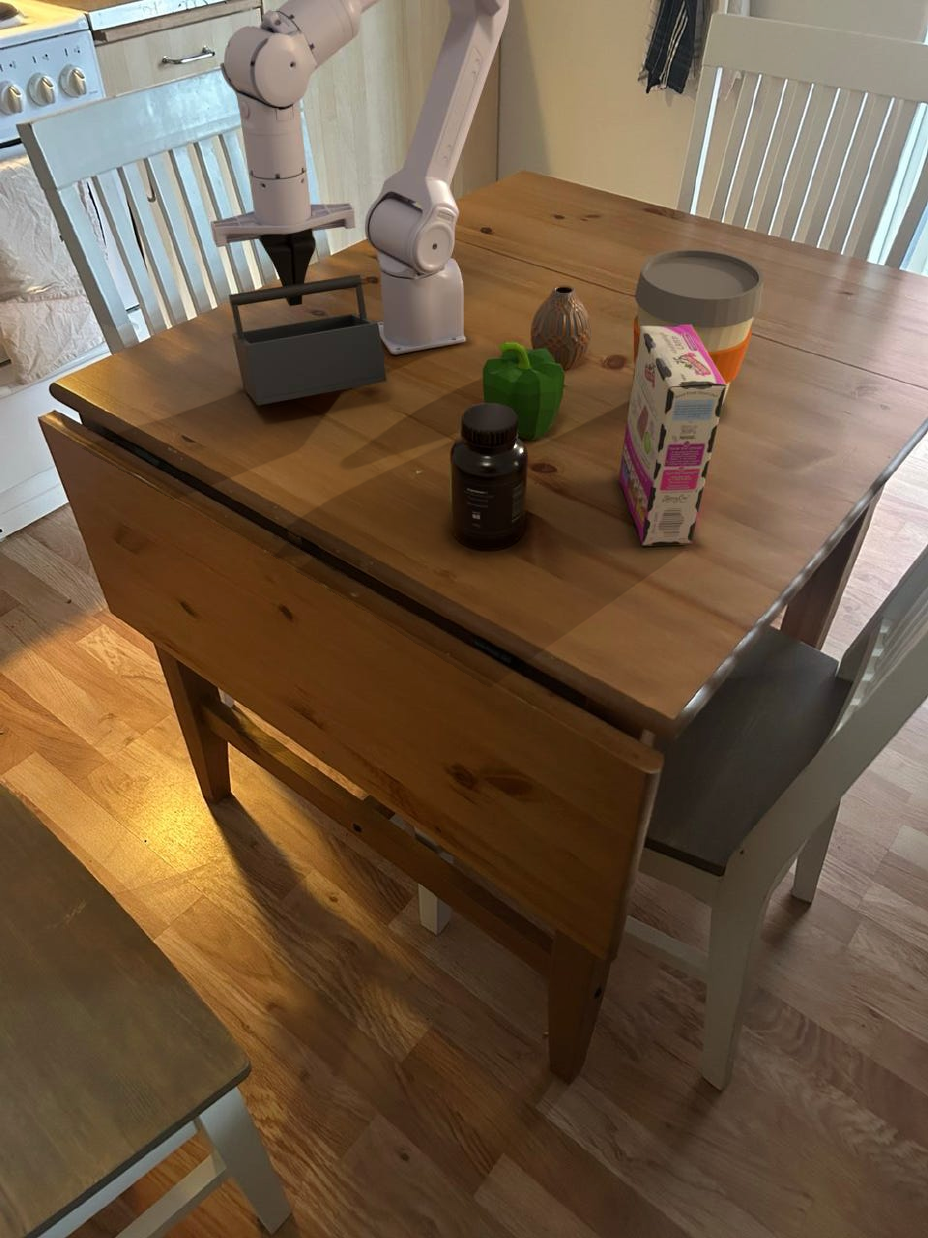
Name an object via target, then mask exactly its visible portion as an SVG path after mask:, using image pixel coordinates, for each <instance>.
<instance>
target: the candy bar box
mask: <svg viewBox="0 0 928 1238" xmlns="http://www.w3.org/2000/svg"><path fill="white" fill-rule="evenodd" d="M726 386H727V385H726V383H725V381H724V379H723V378H722V376H721V374H720V373H719V371H718V369H717V368H716V366H715V364H714V363H713V361H712V359H711V357H710V356H709V354H708V352H707V351H706V349H705V347H704V346H703V344H702V342H701V340H700V339H699V337H698V335H697V333H696V332H695V330H694V328H693V327H692V325H660V326H641V327H640V338H639V344H638V353H637V358H636V365H635V364H634V372H633V377H632V385H631V391H630V399H629V400H630V401H629V406H628V413H627V420H626V427H625V432H624V433H625V434H624V439H623V446H622V453H621V461H620V469H619V475H618V481H619V484H620V486H621V489H622V492H623V495H624V498H625V501H626V503H627V506H628V509H629V512H630V515H631V518H632V520H633V522H634V526H635V529H636V531H637V534H638V536H639V537H638V538H639V540H640V543H641V545H642V546H643V547H653V546H655V547H657V546H682V545H683V546H684V545H685V546H686V545H692V543H693V540H694V539H693V538H694V533H695V529H696V524H697V519H698V515H699V512H700V507H701V502H702V498H703V493H704V487H705V483H706V478H707V475H708V474H707V473H708V469H709V464H710V461H711V457H712V452H713V447H714V443H715V439H716V435H717V430H718V425H719V420H720V418H721V417H720V416H721V411H722V407H723V404H724V402H723V399H724V394H725V389H726ZM724 400H725V399H724ZM722 403H723V404H722Z"/></svg>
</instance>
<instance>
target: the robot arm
mask: <svg viewBox="0 0 928 1238" xmlns="http://www.w3.org/2000/svg"><path fill="white" fill-rule="evenodd" d="M379 2H381V0H287V1H286V2H285V3H284V4H282V5H281V6H279V7H278V8H277V9H276V10H271V9H269V10H267V11H266V12H265V13H263V14H262V15H261V19H262V21H261V23H260V25H259V27H257V26H255V25H251V26H249V25H247V26H243V27H241V28H239V29H237V30H236V31H235V32H234V33H233V34H232V35H231V36H230V38H229V40H228V41H227V45H226V47H225V50H224V56H223V57H224V59H223V62H221V63H220V65H219V66H220V71H221V74H222V77H223V79H224V81H225V82H226V84H227V85H228V86H229V87H230V88H231V89H232V91H233V92H234V94H235V96H236V101H237V108H238V111H239V115H240V116H239V118H240V126H241V131H242V138H243V146H244V152H245V159H246V166H247V172H248V179H249V186H250V187H249V188H250V192H251V201H252V207H253V210H252V211H249V212H245V213H241V214H238V215H233V216H231V217H227V218H221V219H218V220H211V221H210V228H211V233H212V239H213V242H214V245H215V246H216V248H221V247H227V246H228V244H231V243H232V244H233V243H239V242H245V241H253V240H258V241H259V242H260V244H261V246H262V248H263V249H264V251H265V253H266V254H267V256H268V257H269V259H270V261H271V263H272V265H273V266H274V269H275V271H276V273H277V276H278V278H279V281H280V283H281V287H282V286H288V285H295V284H301V283H305V281H306V277H307V272H308V269H309V265H310V263H311V260H312V258H313V255H314V253H315V251H316V246H317V244H316V238H315V236H314V235H313V232H317V231H324V230H331V229H339V228H340V229H341V228H345V229H346V230H351V229H355V228H356V214H355V208H354V207H353V206H352V205H351V204H350V202H346V203H331V204H330V203H327V204H326V203H325V204H323V203H322V204H321V203H319V204H317V203H316V204H313V203H312V204H311V199H310V198H311V197H310V189H309V188H310V187H309V179H308V169H307V161H306V160H307V159H306V152H305V141H304V132H303V123H302V113H301V105H300V101H301V100H302V99H303V97H304V95H305V93H306V92H307V90H308V88H309V87H308V86H309V82H310V79H311V76H312V75H313V74H314V73H315V72H316V70H318V68H319V67H321V66H322V65H324V63H325V62H327V61H328V60H329V59H331V58H332V57H333V56H334V55H335V54H336V53H338V52H339V51H340V50H341V49H342V48H343V47H345V46H346V45H347V44H349V43H350V42H351V41H352V40H353V39H354V38H356V37H357V36H358V34H359V30H360V23H361V15H362V14H364V13H365V12H366V11H368V10H370V9H371V8H372V7H373V6H375V5H376V4H378V3H379ZM446 2H447V4H448V7H449V9H450V18H449V22H448V26H447V29H446V32H445V34H444V38H443V41H442V43H441V44H442V45H441V48H440V51H439V53H438V57H437V59H436V63H435V66H434V69H433V72H432V75H431V79H430V82H429V84H428V88H427V91H426V93H425V94H426V95H425V98H424V100H423V104H422V107H421V109H420V110H421V111H420V113H419V116H418V120H417V123H416V126H415V129H414V132H413V135H412V139H411V142H410V144H409V147H408V152H407V154H406V157H405V161H404V164H403V167H402V168H401V169H400V170H399V171H397V172H395V173H394V174H392V175H391V176H390V177H388V178H387V179H385V180H384V181H383V184H382V188H381V191H380V193H379V194H378V197H377V198H376V199H375V201H374V202H373V203H372V204H371V205H370V207H369V209H368V210H367V213H366V216H365V220H364V233H365V238H366V240H367V242H368V243H369V244H370V246H371V247H372V248H374V249H375V250H376V251H375V252H376V260H377V261H378V264H379V276H380V277H379V278H380V280H379V281H380V292H381V311H382V321H379V322H377V323H378V325H379V332H380V339H381V342H382V343H383V344H384V346H385V347H386V348H387V351H388V352H389V353H390V354H391V355H401V354H406V353H407V354H408V353H412V352H418V351H423V350H428V349H429V350H430V349H433V348H434V349H435V348H440V347H447V346H451V345H457V344H462V343H465V342H466V341H467V339H466V336H465V334H464V333H465V331H464V327H465V326H464V324H465V323H464V322H465V321H464V316H465V315H464V308H465V307H464V302H465V300H464V299H465V298H464V295H465V294H464V293H465V292H464V291H465V290H464V282H463V276H462V273H461V269H460V267H459V265H458V263H457V261H456V260H455V259H454V258H452V255H453V252H454V247H455V241H456V237H455V236H456V235H455V231H456V226H457V221H458V218H459V216H460V211H459V208H458V205H457V204H456V201H455V198H454V196H453V193H452V191H451V187H450V186H451V184H452V181H453V178H454V175H455V172H456V170H457V166H458V163H459V160H460V158H461V154H462V151H463V149H464V146H465V142H466V139H467V136H468V133H469V131H470V128H471V125H472V122H473V119H474V116H475V113H476V110H477V107H478V104H479V101H480V99H481V96H482V93H483V89H484V86H485V83H486V80H487V78H488V75H489V73H490V70H491V66H492V63H493V61H494V58H495V54H496V51H497V48H498V45H499V42H500V39H501V36H502V33H503V31H504V28H505V24H506V21H507V19H508V18H507V17H508V14H509V6H510V0H446ZM416 203H417V204H418V205H419V206H420V207H419V206H417V205H415V204H416ZM285 300H286V302H287V304H288V305H289V306H290V307H293V306H299V305H301V306H302V305H303V296H296V297H290V298H285Z"/></svg>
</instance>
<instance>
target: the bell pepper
mask: <svg viewBox="0 0 928 1238" xmlns="http://www.w3.org/2000/svg"><path fill="white" fill-rule="evenodd" d="M498 347H499V350H500V351H501V356H500V357H492V358H488V359H487V360H486V363H485V364H484V366H483V368H482V393H483V401H484V403H497V404H502V405H505V406H507V407H510V408H511V409H512V410H514V412H516V415H517V417H518V438H521V439H523V440H529V441H534V440H537V439H540V438H543V437H544V436H545V435H546V434H547V433H548V432H549V430H550V429H551V427H552V426H553V425H554V422H555V420H556V417H557V416H558V415H557V414H558V413H559V409H560V405H561V402H562V400H563V396H564V388H565V378H566V377H565V371H564V369H562V366H561V364H557V363H555V360H554V358H553V356H552V355H551V354H550V353H549V351H548V350H547V349H546V348H542V349H535V350H533V349H527V348H525V346H523V345H522V344H520V343H519V342H516V341H504V342H502V343H500V344H498Z"/></svg>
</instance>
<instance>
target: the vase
mask: <svg viewBox="0 0 928 1238" xmlns="http://www.w3.org/2000/svg"><path fill="white" fill-rule="evenodd" d="M591 335H592V325H591V319H590V316H589V313H588V311H587V309H586V307H585V306H584V305H583V303H582V301H581V300H580V299H579V297H578V295H577V293H576V290H575V288H574V287H572V286H571V285H567V284H559V285H556V286H554V287H553V289H552V290H551V292H550V294H549V296H548V297H546V299H545V300H544V301H543V302H542V303H541V304H540V305H539V307H538V308H537V310H536V311H535V314H534V315H533V319H532V321H531V325H530V343H531V348H532V350H535V349H542V348H546V349H547V350H548V351H549V353H550V354H551V355H552V356H553V358H554V360H555V363H557V364H561V366H562V369H563V370H565V369H569V368H572V367H573V366H575V365H576V364H578V363H579V362H580V361H581V360H582V359H583V358H584V356H585V355H586V353H587V351H588V348H589V345H590V341H591V337H592V336H591Z"/></svg>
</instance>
